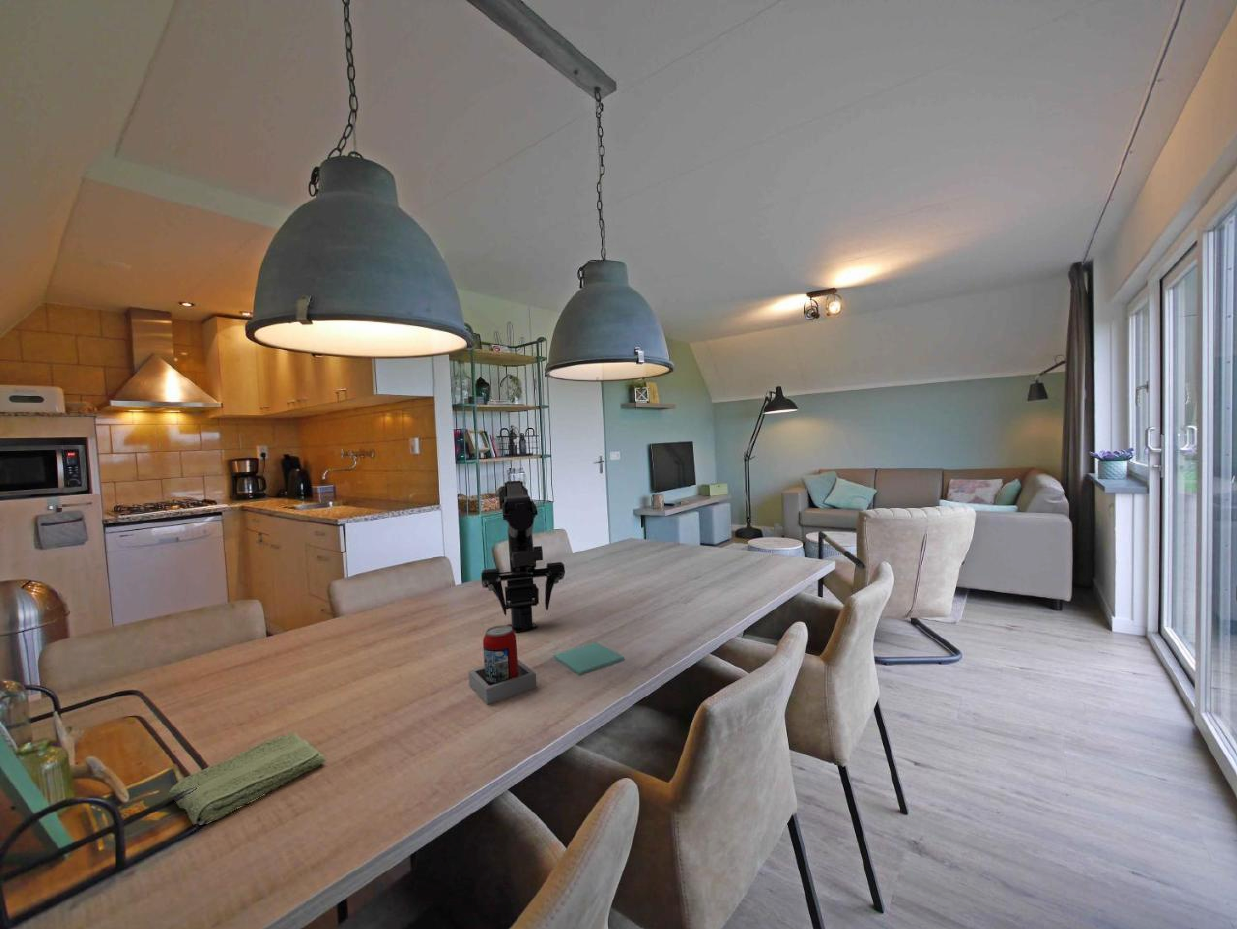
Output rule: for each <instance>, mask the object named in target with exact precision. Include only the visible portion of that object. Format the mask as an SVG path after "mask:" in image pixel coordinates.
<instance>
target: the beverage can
mask: <svg viewBox="0 0 1237 929" xmlns="http://www.w3.org/2000/svg"><path fill="white" fill-rule="evenodd" d="M482 639H483V641H482V644H483V646H482V647H483V660H484V661H483V663H484V666H485V679H486V683H487V684H488V685H489V686H491V685H494V684H497V683H500V682H503V681H506V680H509V679H513V678H516V677H518V660H519V659H518V648H517V643H518V642H517V635H516V632H514V631H513V630H512V627H510V626H507V625H496V626H495V625H494V626H493V627H490V628H488V629H487V630H486V631H485V634H484V637H483V638H482Z"/></svg>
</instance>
